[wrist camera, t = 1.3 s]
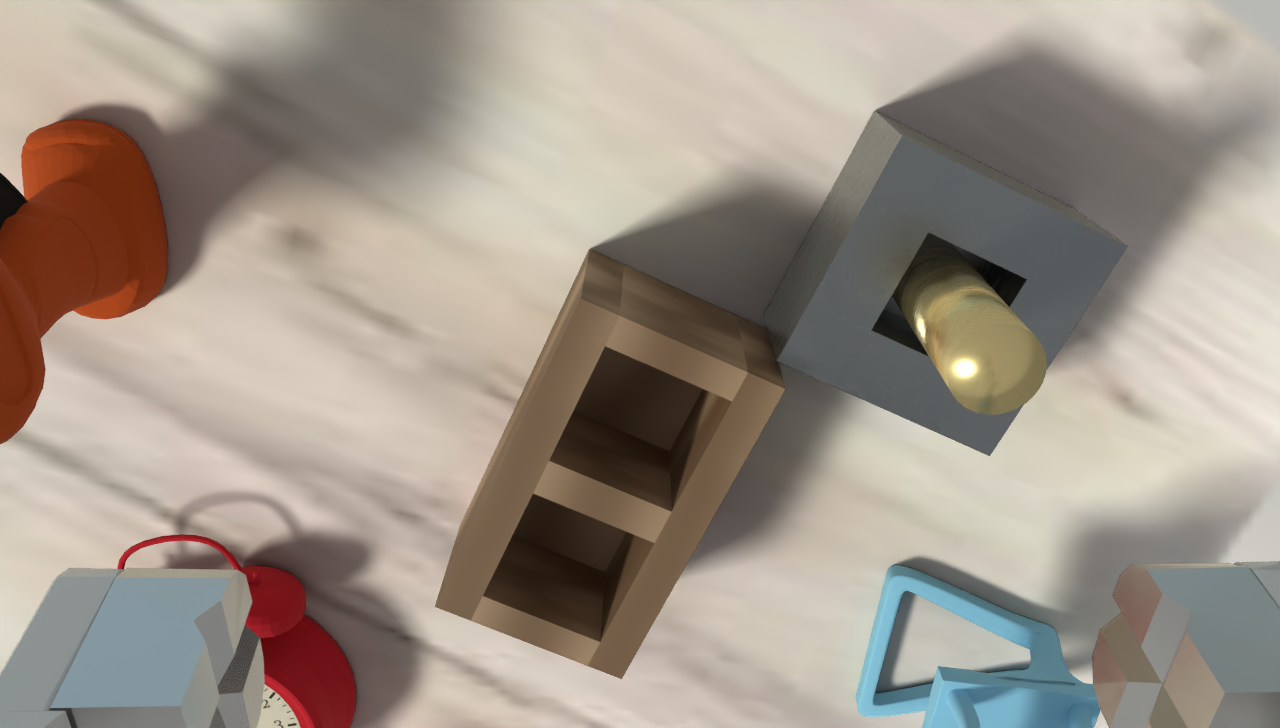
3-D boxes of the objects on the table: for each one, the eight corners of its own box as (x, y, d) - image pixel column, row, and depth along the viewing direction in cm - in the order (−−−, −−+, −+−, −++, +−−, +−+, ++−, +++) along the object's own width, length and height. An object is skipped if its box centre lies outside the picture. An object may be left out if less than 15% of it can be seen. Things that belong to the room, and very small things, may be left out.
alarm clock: (156, 858, 52) (-7, 647, 43) (195, 743, 57) (57, 534, 48) (372, 829, 51) (250, 608, 43) (392, 715, 56) (287, 498, 48)
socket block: (1077, 210, 43) (1127, 246, 39) (956, 401, 46) (989, 456, 42) (874, 110, 42) (902, 135, 37) (764, 314, 45) (776, 361, 40)
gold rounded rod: (976, 253, 43) (1065, 348, 34) (936, 319, 44) (1012, 429, 35) (909, 221, 42) (980, 308, 33) (870, 288, 44) (929, 391, 34)
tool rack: (769, 330, 45) (785, 388, 40) (625, 593, 50) (621, 679, 45) (589, 248, 44) (580, 298, 39) (459, 527, 49) (434, 606, 43)
